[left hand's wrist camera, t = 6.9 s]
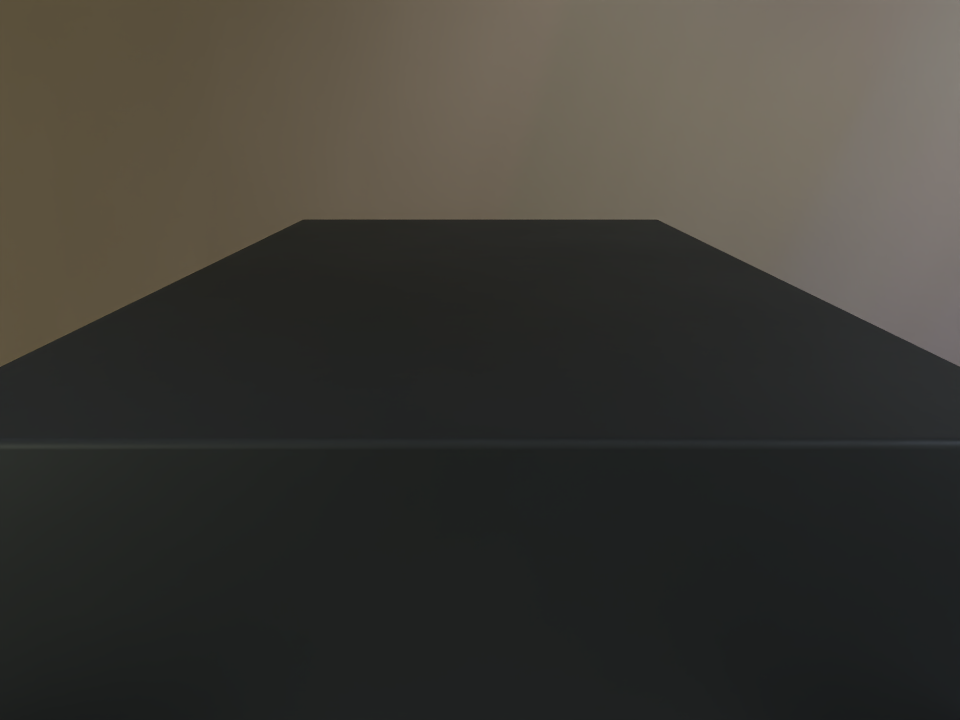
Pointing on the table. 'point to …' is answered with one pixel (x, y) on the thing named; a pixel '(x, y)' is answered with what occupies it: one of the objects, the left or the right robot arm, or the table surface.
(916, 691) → the box
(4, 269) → the table surface
